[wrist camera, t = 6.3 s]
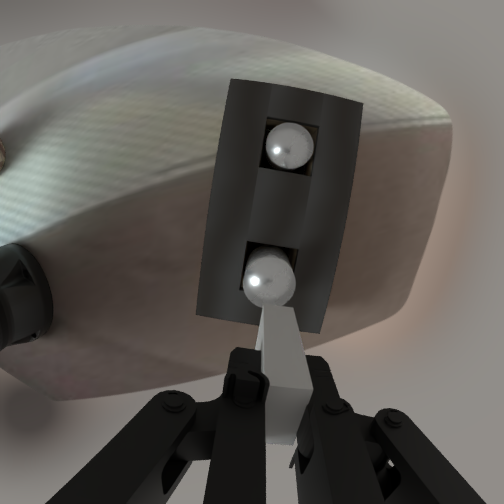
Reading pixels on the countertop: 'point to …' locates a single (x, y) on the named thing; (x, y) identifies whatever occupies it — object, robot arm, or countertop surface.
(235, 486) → the robot arm
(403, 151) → the countertop surface
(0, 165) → the figurine
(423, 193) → the countertop surface
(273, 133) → the steel peg
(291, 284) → the steel peg
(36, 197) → the countertop surface
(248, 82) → the block
